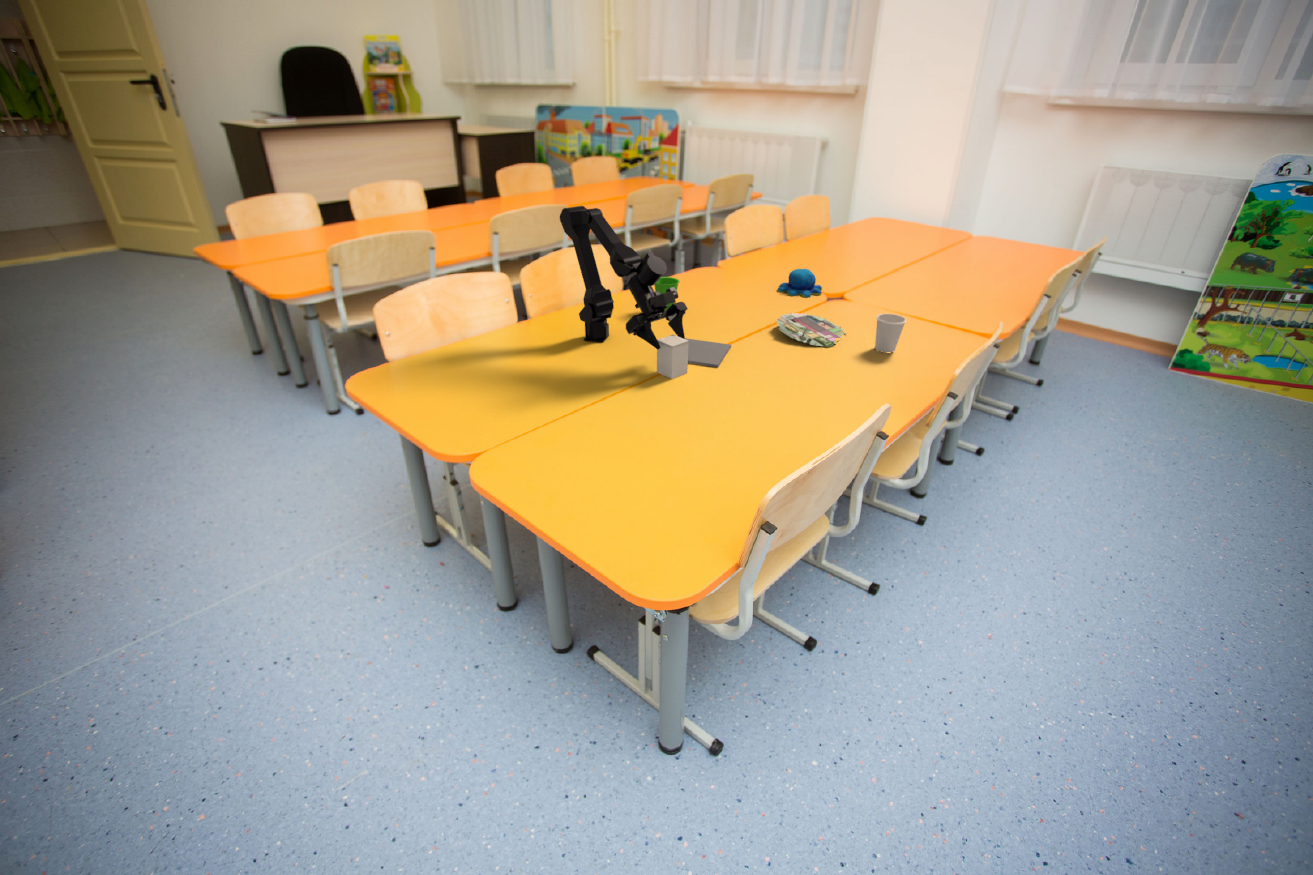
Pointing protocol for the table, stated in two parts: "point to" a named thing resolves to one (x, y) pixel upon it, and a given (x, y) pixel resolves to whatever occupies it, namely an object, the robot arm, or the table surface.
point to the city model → (810, 329)
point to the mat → (706, 352)
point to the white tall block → (672, 356)
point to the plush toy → (801, 284)
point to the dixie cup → (888, 331)
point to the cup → (666, 285)
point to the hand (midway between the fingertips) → (671, 344)
